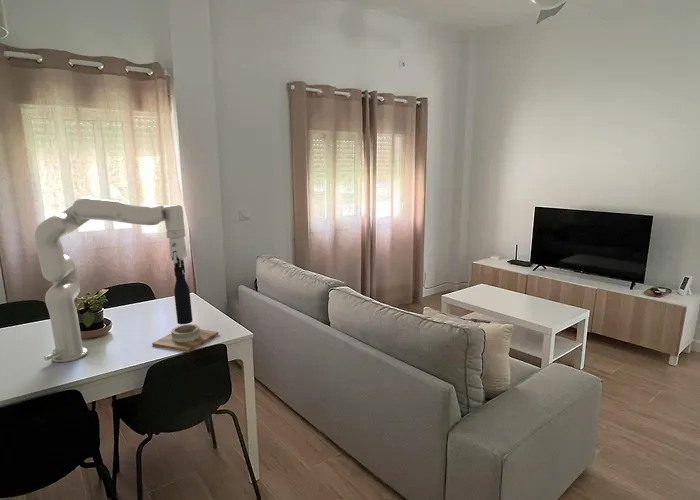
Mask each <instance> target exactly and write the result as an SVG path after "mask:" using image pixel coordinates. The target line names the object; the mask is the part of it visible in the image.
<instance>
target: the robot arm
mask: <svg viewBox="0 0 700 500" xmlns="http://www.w3.org/2000/svg"><path fill="white" fill-rule="evenodd" d="M183 209H184V208H183V206H182V205H179V204H170V205H158V204H153V205H150V206H141V205H140V206H139V205H133V204H132V205H131V204H127V203H124V202H122V201H119V200H110V199H102V198H101V199H100V198H95V197H92V196H83V197H80V198H78V199H75V201H73V204H72V205H71V206H69V207H68V208H66V209H65V210H64V211H62V212H61V213H59V214H55V215H53V216H50V217H48V218H46V219H45V220H43V221H42V222H40V224H38V226H37V227H36V229H35V231H34V242H35V246H36V252H37V257H38V260H39V265H40V270H41V274H42V276H43V278H44V279H45V280H47V281H49V282H52V283H53V285H51V287H49V289H48V290H47V291H46V293H45V297H44V302H45V305H46V308H47V311H48V314H49V319H50V320H49V321H50V324H51V330H52V336H53V342H54V349H52V352H51V353H50V354H47V355H45V356H44V357H43V360H45V361H49V360H52V361H53V362H54V363H66V362H72V361H75V360H79V359H81V358H83V357H85V356H86V355H87V354H88V352H89V351H88V349H87V348H86V347H84V346H83V341H82V335H81V333H82V332H81V328H80V322H79V316H78V315H79V314H78V311H77V307H76V304H75V299H77V297H78V295H79V294H80V291H81V285H80V280H79V276H78V271H77V268H76V264H75V262H74V259H72V258H71V256H69V255H67V254H65V252H64V247H63V245H62V242H61V238H62V237H64V236H67V235H69V234H71V233H73V232H74V231H76V230H77V229H79V228H80V227H81V226H83V225H85V224H86V223H88V222H89V221H90V220H95V221H107V222H117V223H124V224H125V223H126V224H131V225H139V226H140V225H141V226H143V225H144V226H156V225H158V224H160V223H161V222H164V226H165V233H166V239H168V241H169V243H168V245H169V256H170V260H171V261H172V263H173V271H174V272H173V273H174V276H175V277H176V276H183V272H184V274H185V273H186V267H185V259H186V257H187V255H188V254H187V253H188V252H187V248H186V247H187V246H186V239H185V237H186V229H185V220H184V219H185V217H184V210H183ZM177 259H179V260H177ZM181 260H183V262H184V264H183V265H182V267H181ZM182 268H183V270H184V271H183V272H182Z"/></svg>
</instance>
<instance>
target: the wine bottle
mask: <svg viewBox="0 0 700 500" xmlns="http://www.w3.org/2000/svg"><path fill="white" fill-rule="evenodd" d="M177 260H179V259H177ZM183 264H184V265H185V261H184V262H183V260H181V267H182V265H183ZM183 271H184V270H183V268H182V272H183ZM185 275H186V274H185V273H184V272H183V276H175V283H174V290H173V293H174V303H175V313H176V314H175V315H176V322H177V324H178V325H187V324H192V322H193V312H192V311H193V310H192V301H191V294H190V293H191V291H190V288H189V285H188V283H187V280H186V276H185Z"/></svg>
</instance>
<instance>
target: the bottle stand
mask: <svg viewBox="0 0 700 500" xmlns="http://www.w3.org/2000/svg"><path fill="white" fill-rule="evenodd" d="M170 332H171V333H169V334H167V335H165V336H164V337H161V338H160V339H157V340H155V341H154V342H152V347H155V348H161V349H166V350H171V351H172V350H173V351H178V352H183V353H191V352H193V351H194V350H195V349H197V348H200V347H201V346H202V345H204V344H206V343H208V342H209V341H211V340H212V339H214V338H217V337H218V336H219V331H216V330H208V329H200V326H199V325H197V324H193V323H188V324H180V325H179V326H176V327H174V328H172V329H171V331H170ZM190 351H191V352H190Z"/></svg>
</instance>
